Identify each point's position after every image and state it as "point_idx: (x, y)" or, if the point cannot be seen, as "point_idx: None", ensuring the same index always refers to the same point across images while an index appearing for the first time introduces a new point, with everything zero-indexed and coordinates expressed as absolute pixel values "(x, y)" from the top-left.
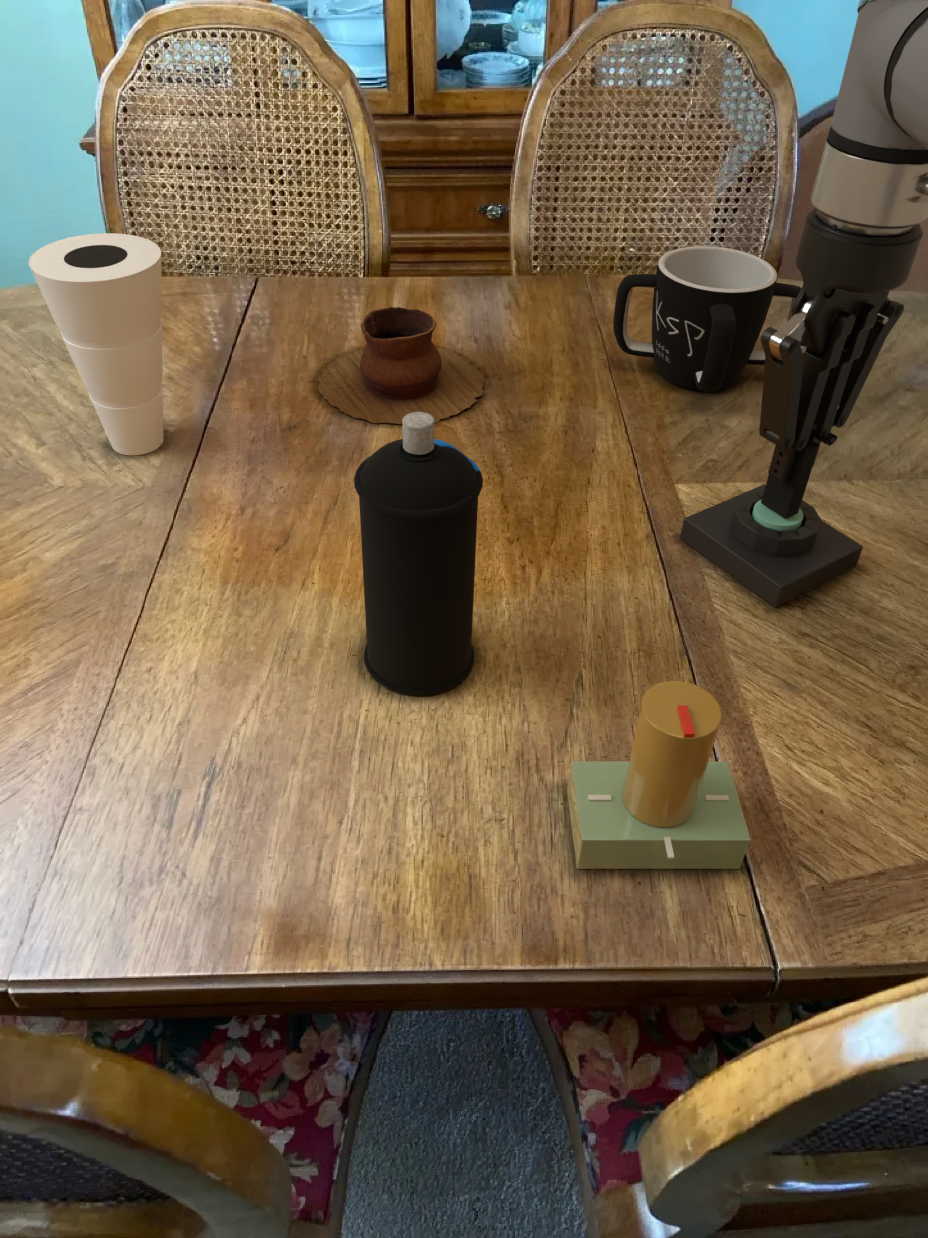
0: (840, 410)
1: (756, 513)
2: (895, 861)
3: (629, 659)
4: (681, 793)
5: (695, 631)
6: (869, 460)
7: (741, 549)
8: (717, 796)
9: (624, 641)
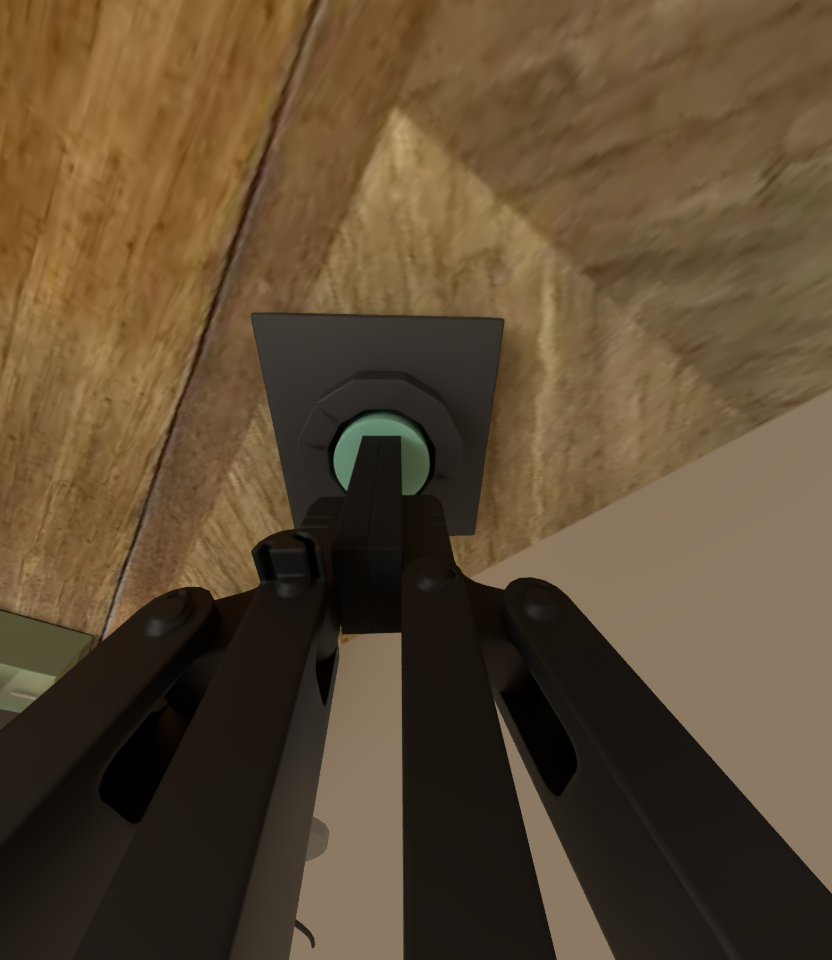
0: (510, 729)
1: (336, 447)
2: None
3: (51, 490)
4: None
5: (174, 495)
6: (785, 336)
7: (297, 452)
8: (24, 695)
9: (54, 463)
